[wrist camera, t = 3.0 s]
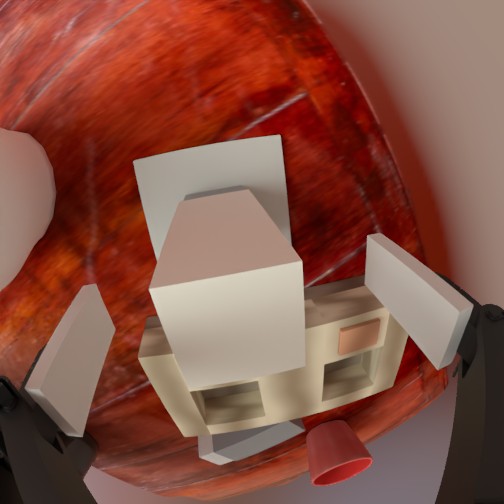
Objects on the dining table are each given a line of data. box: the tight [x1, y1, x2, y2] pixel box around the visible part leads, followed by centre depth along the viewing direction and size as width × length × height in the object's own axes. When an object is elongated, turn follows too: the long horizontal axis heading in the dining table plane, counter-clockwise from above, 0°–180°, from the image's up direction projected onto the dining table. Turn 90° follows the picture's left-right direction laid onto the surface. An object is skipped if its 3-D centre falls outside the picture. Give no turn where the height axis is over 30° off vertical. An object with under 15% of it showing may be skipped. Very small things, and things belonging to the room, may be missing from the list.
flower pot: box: [306, 420, 373, 486], centre depth 38 cm, size 11×11×10 cm
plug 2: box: [198, 418, 306, 465], centre depth 34 cm, size 15×5×5 cm, turn 127°
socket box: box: [138, 275, 408, 437], centre depth 28 cm, size 26×14×6 cm, turn 98°
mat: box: [133, 135, 292, 262], centre depth 24 cm, size 12×12×1 cm
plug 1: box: [149, 185, 306, 388], centre depth 17 cm, size 5×5×15 cm
